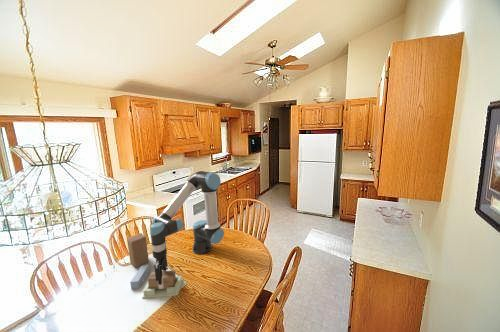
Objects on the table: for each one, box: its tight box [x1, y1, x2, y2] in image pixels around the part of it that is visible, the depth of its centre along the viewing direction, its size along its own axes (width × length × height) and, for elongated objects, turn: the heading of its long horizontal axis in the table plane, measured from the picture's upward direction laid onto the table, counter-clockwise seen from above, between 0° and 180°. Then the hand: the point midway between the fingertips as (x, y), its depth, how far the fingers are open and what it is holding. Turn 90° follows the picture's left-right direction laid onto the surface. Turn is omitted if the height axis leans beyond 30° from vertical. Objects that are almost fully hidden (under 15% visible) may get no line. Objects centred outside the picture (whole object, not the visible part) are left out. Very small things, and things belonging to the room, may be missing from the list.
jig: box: [141, 275, 184, 299], centre depth 126 cm, size 13×20×4 cm, turn 94°
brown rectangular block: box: [147, 270, 177, 289], centre depth 125 cm, size 6×14×7 cm, turn 95°
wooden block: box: [126, 232, 150, 268], centre depth 151 cm, size 10×10×20 cm
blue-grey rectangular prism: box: [130, 264, 150, 290], centre depth 135 cm, size 16×4×5 cm, turn 4°
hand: (163, 284), depth 126 cm, fingers closed on brown rectangular block, 6 cm apart
